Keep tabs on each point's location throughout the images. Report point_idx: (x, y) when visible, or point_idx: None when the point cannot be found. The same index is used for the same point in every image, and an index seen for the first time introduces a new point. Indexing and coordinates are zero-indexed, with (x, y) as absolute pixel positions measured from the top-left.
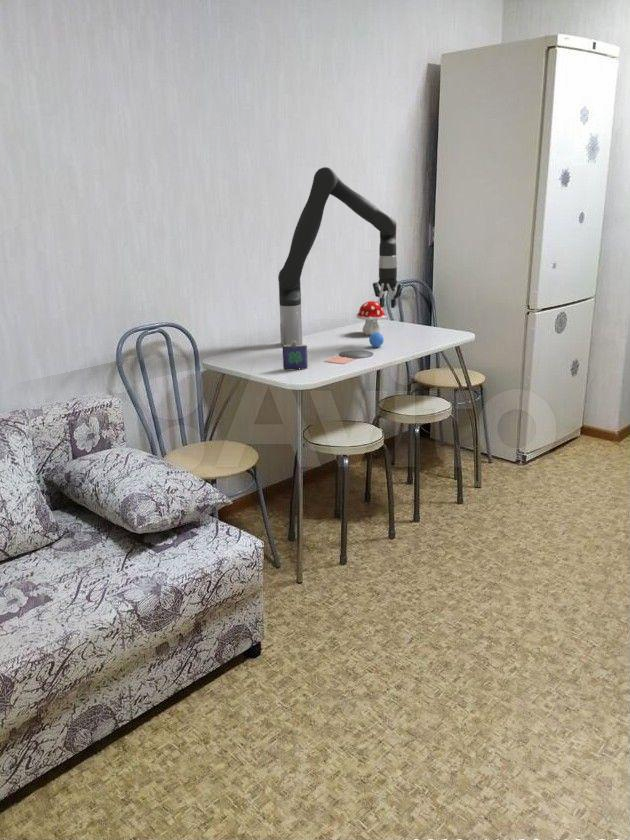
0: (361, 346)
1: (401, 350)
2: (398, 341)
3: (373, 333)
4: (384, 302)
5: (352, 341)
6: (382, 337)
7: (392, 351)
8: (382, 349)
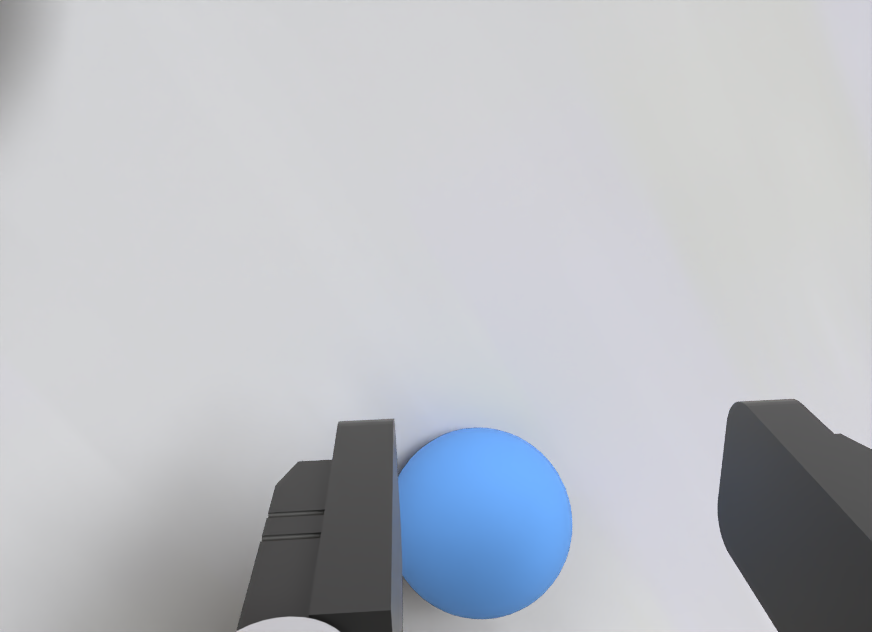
0: None
1: None
2: (557, 59)
3: (454, 596)
4: (392, 489)
5: (23, 368)
6: (568, 526)
7: None
8: (595, 532)
